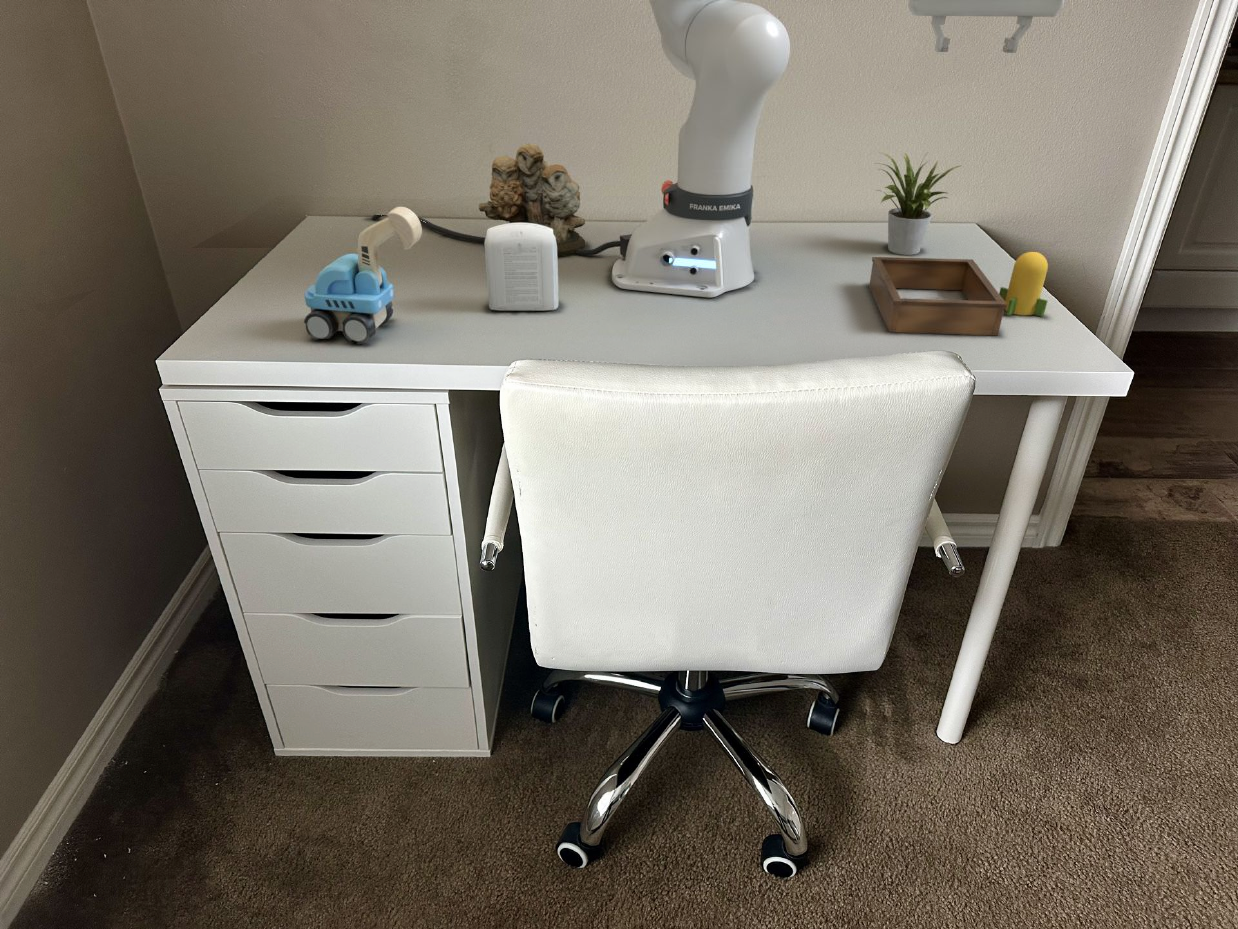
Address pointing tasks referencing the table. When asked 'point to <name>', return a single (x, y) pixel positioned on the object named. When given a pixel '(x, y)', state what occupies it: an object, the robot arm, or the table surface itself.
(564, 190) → the owl figurine
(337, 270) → the toy excavator
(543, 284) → the white rounded block
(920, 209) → the house plant
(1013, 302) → the corn plush toy
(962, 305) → the wooden box
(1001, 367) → the table surface
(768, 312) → the table surface
